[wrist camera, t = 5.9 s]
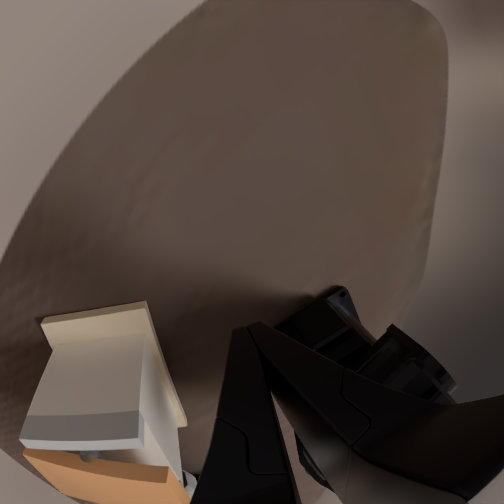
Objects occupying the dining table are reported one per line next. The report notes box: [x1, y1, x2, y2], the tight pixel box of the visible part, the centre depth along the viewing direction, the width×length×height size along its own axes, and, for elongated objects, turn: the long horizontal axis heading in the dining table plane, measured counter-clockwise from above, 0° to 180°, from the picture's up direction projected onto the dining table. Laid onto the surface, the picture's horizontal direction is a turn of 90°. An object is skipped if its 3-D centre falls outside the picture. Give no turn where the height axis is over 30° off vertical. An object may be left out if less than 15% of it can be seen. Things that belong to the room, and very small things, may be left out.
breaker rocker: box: [23, 448, 191, 504], centre depth 12 cm, size 9×5×2 cm, turn 96°
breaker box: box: [19, 301, 187, 504], centre depth 17 cm, size 8×12×10 cm, turn 6°
